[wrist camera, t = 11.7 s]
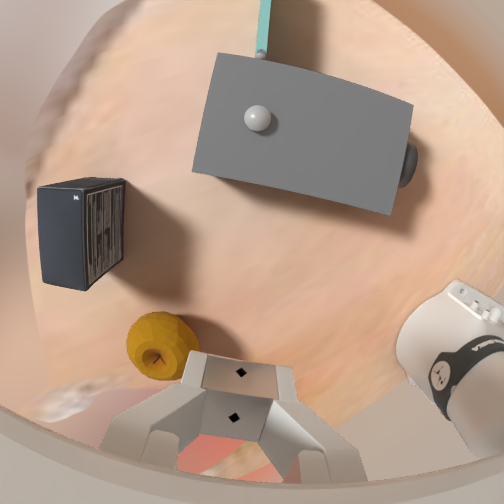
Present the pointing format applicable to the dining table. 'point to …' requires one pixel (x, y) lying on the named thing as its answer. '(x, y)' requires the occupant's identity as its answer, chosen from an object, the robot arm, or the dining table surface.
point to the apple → (161, 345)
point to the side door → (263, 29)
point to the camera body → (305, 133)
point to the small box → (80, 230)
